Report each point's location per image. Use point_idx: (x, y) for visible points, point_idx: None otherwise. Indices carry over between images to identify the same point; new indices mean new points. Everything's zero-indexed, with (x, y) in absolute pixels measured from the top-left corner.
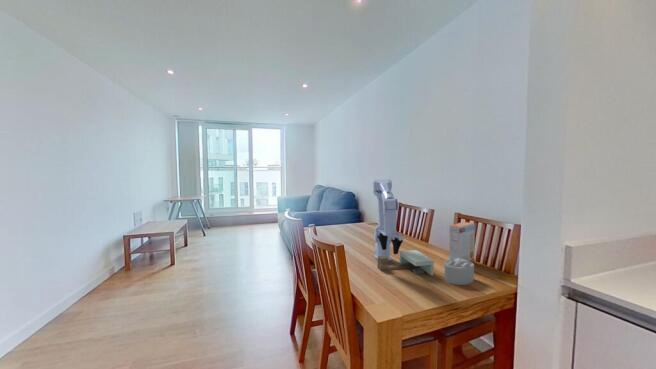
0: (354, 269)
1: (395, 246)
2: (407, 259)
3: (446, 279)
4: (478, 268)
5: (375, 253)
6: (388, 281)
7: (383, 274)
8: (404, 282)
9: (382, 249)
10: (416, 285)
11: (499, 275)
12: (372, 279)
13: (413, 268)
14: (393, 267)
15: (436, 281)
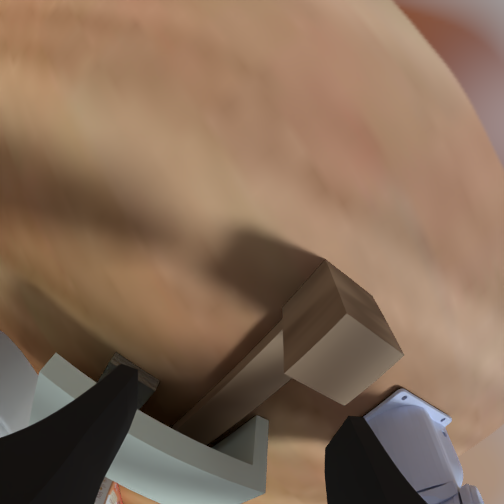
0: (485, 151)
1: (26, 431)
2: (160, 427)
3: (3, 342)
4: None
5: (444, 431)
6: (159, 116)
7: (264, 206)
8: (80, 188)
9: (359, 420)
10: (28, 204)
11: None
12: (277, 58)
13: (148, 392)
14: (258, 350)
15: (19, 316)
